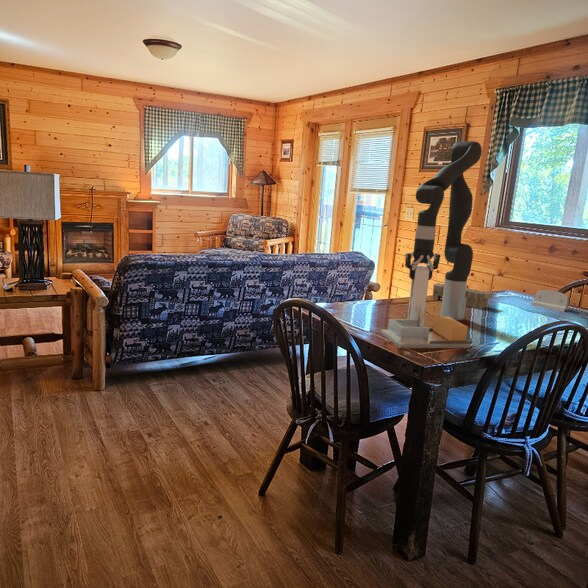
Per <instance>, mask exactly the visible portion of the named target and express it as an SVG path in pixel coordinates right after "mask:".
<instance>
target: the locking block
mask: <svg viewBox="0 0 588 588" xmlns="http://www.w3.org/2000/svg"><path fill="white" fill-rule="evenodd" d="M432 328H433V331H435V332H436V333H438V334H439V335H441V336H443V337H444V338H446V339H447V340H449V341H467V336H468V335H467V334H468V328H469V326H467V325H465V324H463V323H461V322H460V321H459V320H454V319H452V318H450V317H440V316H434V317H433V326H432Z"/></svg>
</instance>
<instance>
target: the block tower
mask: <svg viewBox="0 0 588 588" xmlns="http://www.w3.org/2000/svg"><path fill="white" fill-rule="evenodd" d="M443 291H444V283H438V282H437V283H434V284H433V290H432V300H436V299H439V300H440V301H441V300H442V299H443ZM492 296H493V292H490V291H483V290H477V289H473V288H466V292H465V298H466V307H469V306H470V308H476V309H480V310H482V309H485V308H488V306H489V299H490V298H492ZM440 298H441V299H440Z"/></svg>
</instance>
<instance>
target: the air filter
mask: <svg viewBox="0 0 588 588" xmlns="http://www.w3.org/2000/svg"><path fill="white" fill-rule="evenodd" d="M414 270H415V275H414V280H412V279H411V283H410V285H411V286H410V292H409V293H410V294H409V302H408V311H407V318H406V319H416V320H417V324H416V327H424V324H425V322H424V321H425V314H426V306H427V298H428V290H429V289H428V286H429V281H430V280H429V273H430V269H429V267H427V265H417V266H416V268H415V269H414Z"/></svg>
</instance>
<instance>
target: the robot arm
mask: <svg viewBox="0 0 588 588" xmlns="http://www.w3.org/2000/svg"><path fill="white" fill-rule="evenodd" d="M482 150H483V149H482V145H481V143H480V142H478V141H474V140H473V141H472V140H471V141H470V140H468V141H457V142H455V143H454V144H453V145H452V148H451V150H450V151H451V152H450V163H449V164H447V165H446V166H444V167H442V168H440V170H438V172H437V173H436V174H435V175H434V176H433V177H432V178H429V179H428V180H427V181H425V182H423V183H422V184H421V185H420V186H419V187H418V188H417V189H416V192H415V200H416V201H417V202H418V203H420V204H423V205H424V204H425V205H429V207H428V208H427V209H422V210H421V211H419V212H418V213H417V215H418V216H417V222H416V223H417V224H416V230H415V235H414V244H413V251H412V252H406V253H405V263H404V265H405V268H407V269H409V275H408V277H409V279H410V280H411V281H412V280H414V275H415V270H414V269H415V268H416V266H419V264H425V266H427V267H429V269H430V273H429V281H430V280H431V279H432V278H433V272H434V270H437V269H438V268H439V263H440V259H441V254H439V253H434V249H435V241H436V229H437V228H436V225H437V217H438V214H439V211H440V209H441V206H442V204H443V202H444V199H445V191H447V189H449V188H450V196H449V206H448V207H449V209H448V210H449V211H448V224H447V231H446V232H447V233H446V240H445V244H444V245H445V246H444V259H445V260H446V261H447V262H448V263H450V264H453V266H452V267H453V268H452V269H451V270H449V271H447V272H445V275H444V283H443V284H444V291H443V299H442V301H441V309H440V316H439V317H450V318H452V319H454V320H456V321H461V320H465V313H466V307H467V306H466V298H465V292H466V289H467V283H468V277H469V276H470V274H471V268H472V266H473V265H472V264H473V258H474V251H473V247H472V246H470V244H467V243H462V234H463V230H464V227H465V226H466V224H467V222H468V220H469V219H470V216H471V215H472V210H473V200H474V199H473V193H472V191H471V189H470V187H469V185H468V184H467V182H466V180H465V176H464V173H465V172H466V171H468V170H469V169H470V168H472V167H473V166H474V165H476V164H477V163H478V162H479V161H480V160H481V158H482V152H483V151H482ZM412 258H413V260H412ZM432 258H433V261H431V260H432Z"/></svg>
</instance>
